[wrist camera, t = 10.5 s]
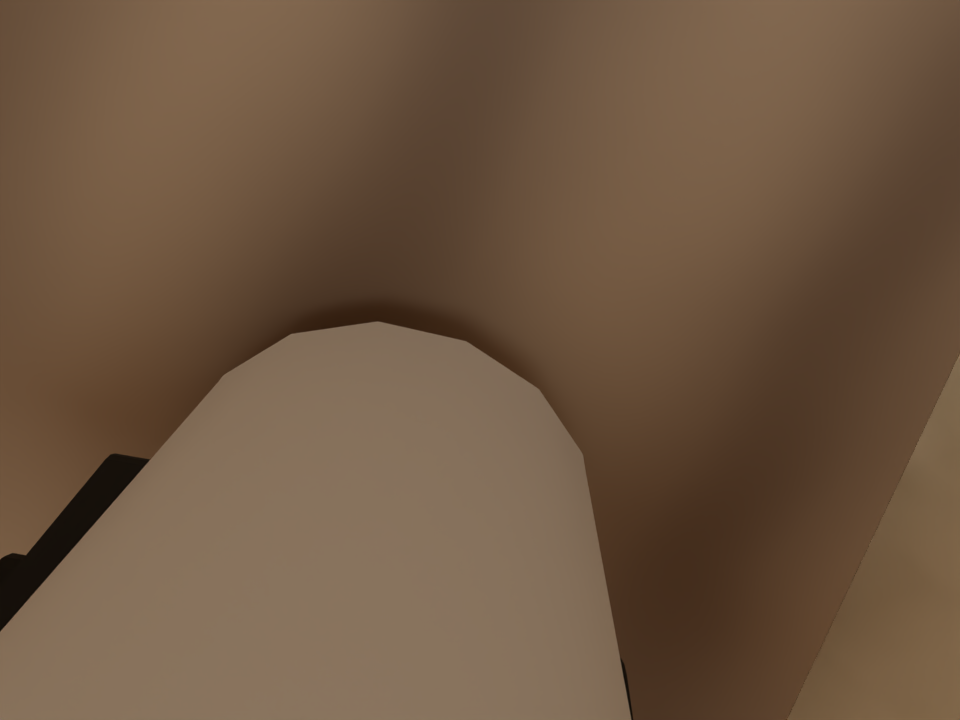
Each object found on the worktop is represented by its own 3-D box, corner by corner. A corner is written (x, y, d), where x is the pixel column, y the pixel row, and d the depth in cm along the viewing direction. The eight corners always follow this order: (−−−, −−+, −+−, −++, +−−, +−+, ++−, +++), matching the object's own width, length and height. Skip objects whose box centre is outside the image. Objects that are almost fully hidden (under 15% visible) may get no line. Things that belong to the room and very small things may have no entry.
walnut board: (1055, -13, 11) (1130, -8, 10) (701, 800, 18) (715, 869, 17) (-189, -267, 11) (-292, -300, 9) (-64, 676, 17) (-113, 738, 16)
